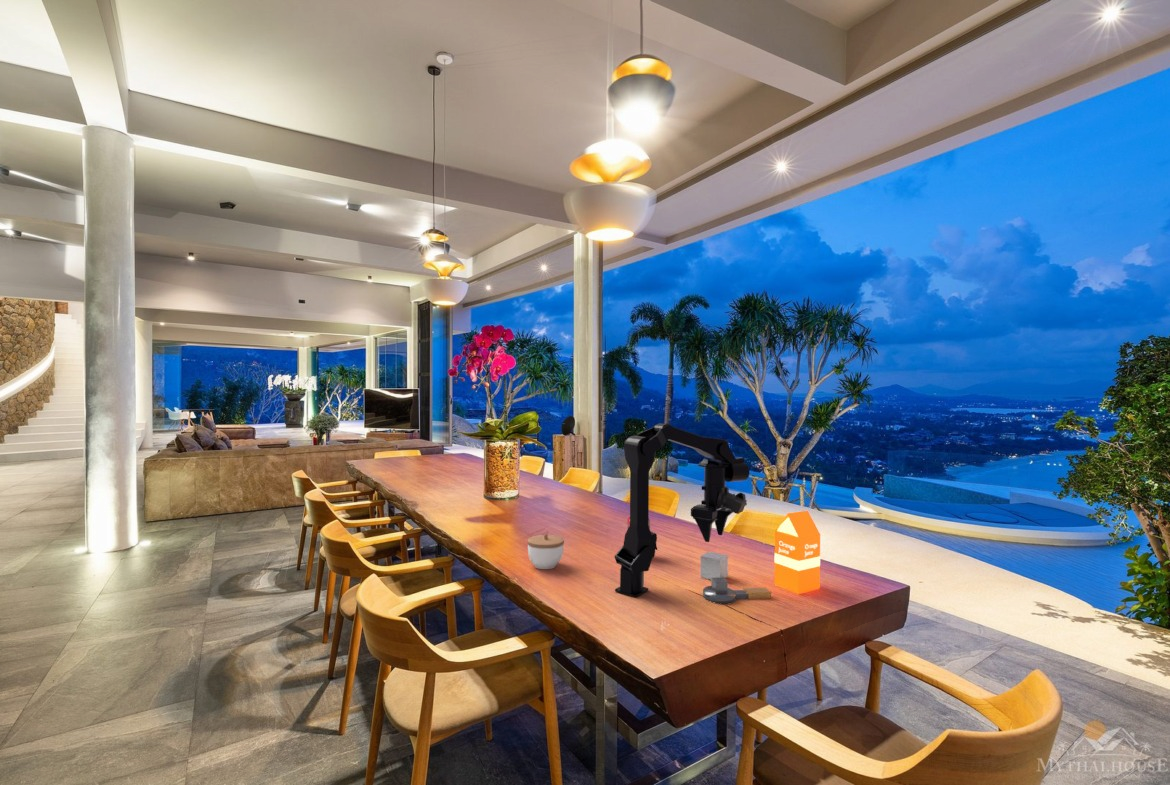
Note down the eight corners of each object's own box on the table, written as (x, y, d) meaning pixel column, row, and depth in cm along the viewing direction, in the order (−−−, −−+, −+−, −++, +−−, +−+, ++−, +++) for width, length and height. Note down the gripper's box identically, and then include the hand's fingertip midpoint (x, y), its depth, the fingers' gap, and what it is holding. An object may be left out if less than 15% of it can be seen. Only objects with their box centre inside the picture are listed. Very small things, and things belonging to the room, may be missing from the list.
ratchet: (710, 604, 121) (710, 585, 121) (698, 591, 129) (698, 574, 129) (776, 602, 123) (776, 584, 123) (760, 590, 131) (760, 572, 131)
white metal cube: (719, 582, 136) (719, 560, 136) (700, 577, 140) (700, 555, 140) (727, 576, 141) (727, 555, 141) (708, 572, 144) (709, 551, 144)
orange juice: (820, 588, 133) (821, 513, 133) (798, 594, 129) (799, 516, 129) (795, 579, 140) (795, 507, 140) (773, 584, 135) (774, 510, 136)
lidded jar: (525, 561, 151) (525, 529, 151) (560, 559, 153) (560, 528, 154) (529, 573, 141) (529, 539, 141) (566, 570, 143) (567, 538, 143)
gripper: (730, 490, 129) (729, 551, 128) (754, 482, 143) (753, 536, 143) (690, 485, 135) (689, 543, 135) (717, 477, 150) (716, 530, 150)
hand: (713, 538), depth 141 cm, fingers open, 9 cm apart
